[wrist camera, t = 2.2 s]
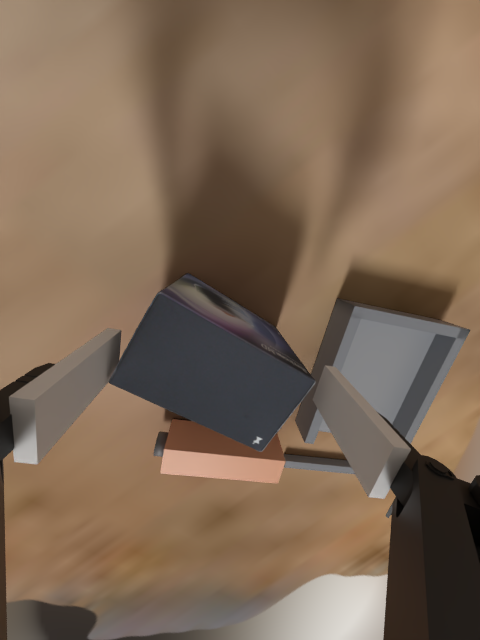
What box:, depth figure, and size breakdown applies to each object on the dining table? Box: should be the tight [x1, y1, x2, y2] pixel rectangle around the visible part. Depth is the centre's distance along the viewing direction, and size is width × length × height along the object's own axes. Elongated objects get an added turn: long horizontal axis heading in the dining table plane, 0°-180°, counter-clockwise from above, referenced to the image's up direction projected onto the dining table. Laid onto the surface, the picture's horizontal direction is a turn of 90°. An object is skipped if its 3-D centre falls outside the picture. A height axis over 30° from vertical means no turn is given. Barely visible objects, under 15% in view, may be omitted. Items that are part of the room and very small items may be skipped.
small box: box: [109, 273, 316, 452], centre depth 18 cm, size 11×6×10 cm, turn 57°
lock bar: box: [154, 419, 286, 483], centre depth 25 cm, size 13×3×4 cm, turn 78°
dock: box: [284, 298, 470, 474], centre depth 25 cm, size 12×21×3 cm, turn 168°
